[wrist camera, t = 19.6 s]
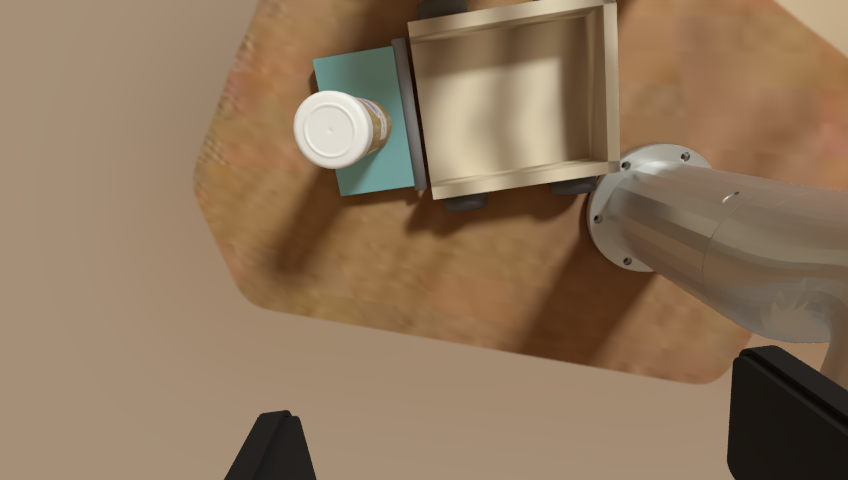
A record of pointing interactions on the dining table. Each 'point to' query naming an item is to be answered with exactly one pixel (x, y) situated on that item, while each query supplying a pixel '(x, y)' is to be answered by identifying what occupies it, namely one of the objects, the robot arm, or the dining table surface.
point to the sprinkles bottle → (340, 128)
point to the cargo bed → (517, 96)
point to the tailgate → (391, 87)
